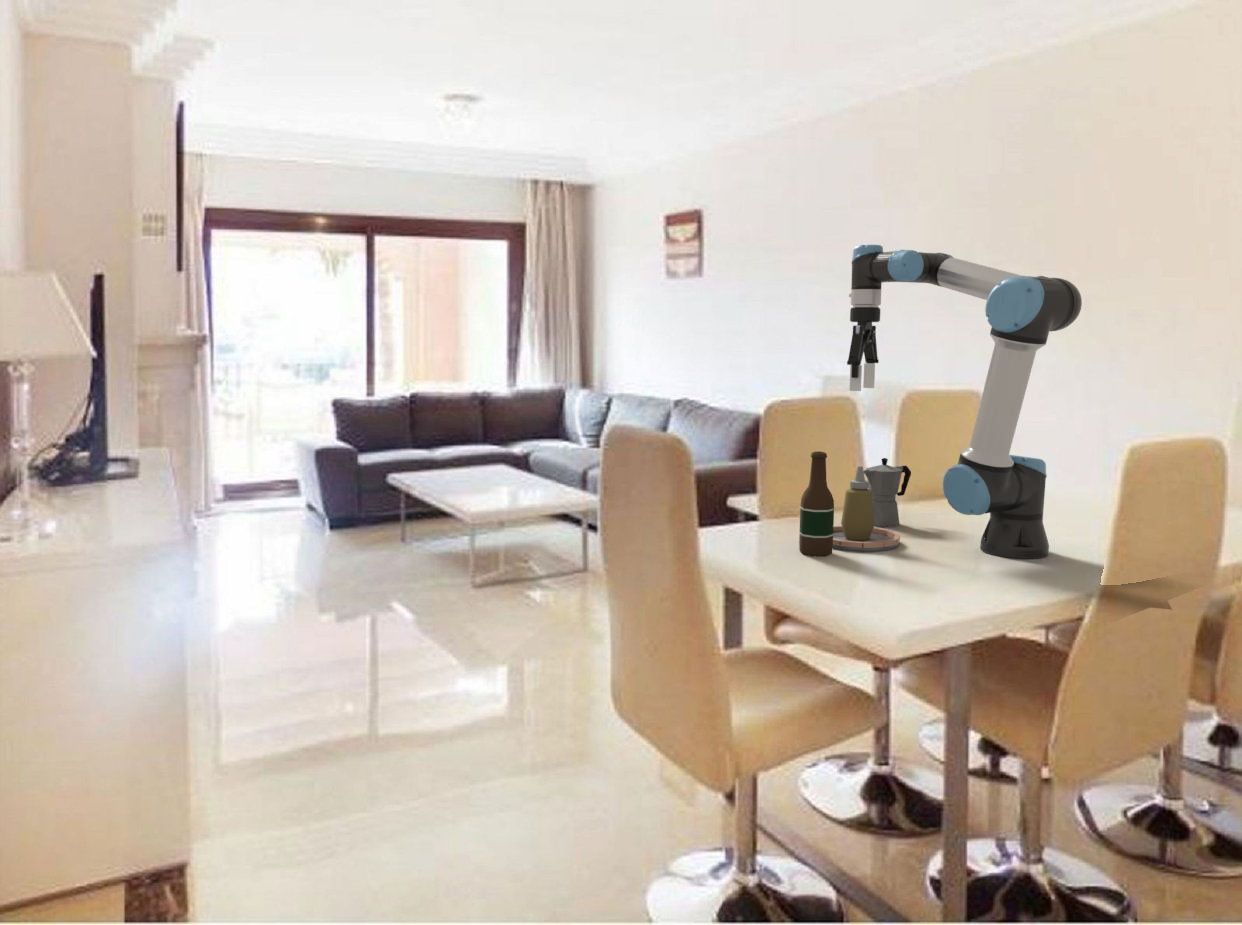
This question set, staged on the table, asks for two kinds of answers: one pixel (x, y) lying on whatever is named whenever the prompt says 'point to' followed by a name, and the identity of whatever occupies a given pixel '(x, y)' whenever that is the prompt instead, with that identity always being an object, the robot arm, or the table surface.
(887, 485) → the coffeepot
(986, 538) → the robot arm
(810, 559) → the table surface
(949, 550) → the table surface
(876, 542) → the dish
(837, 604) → the table surface
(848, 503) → the squeeze bottle
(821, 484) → the beer bottle
